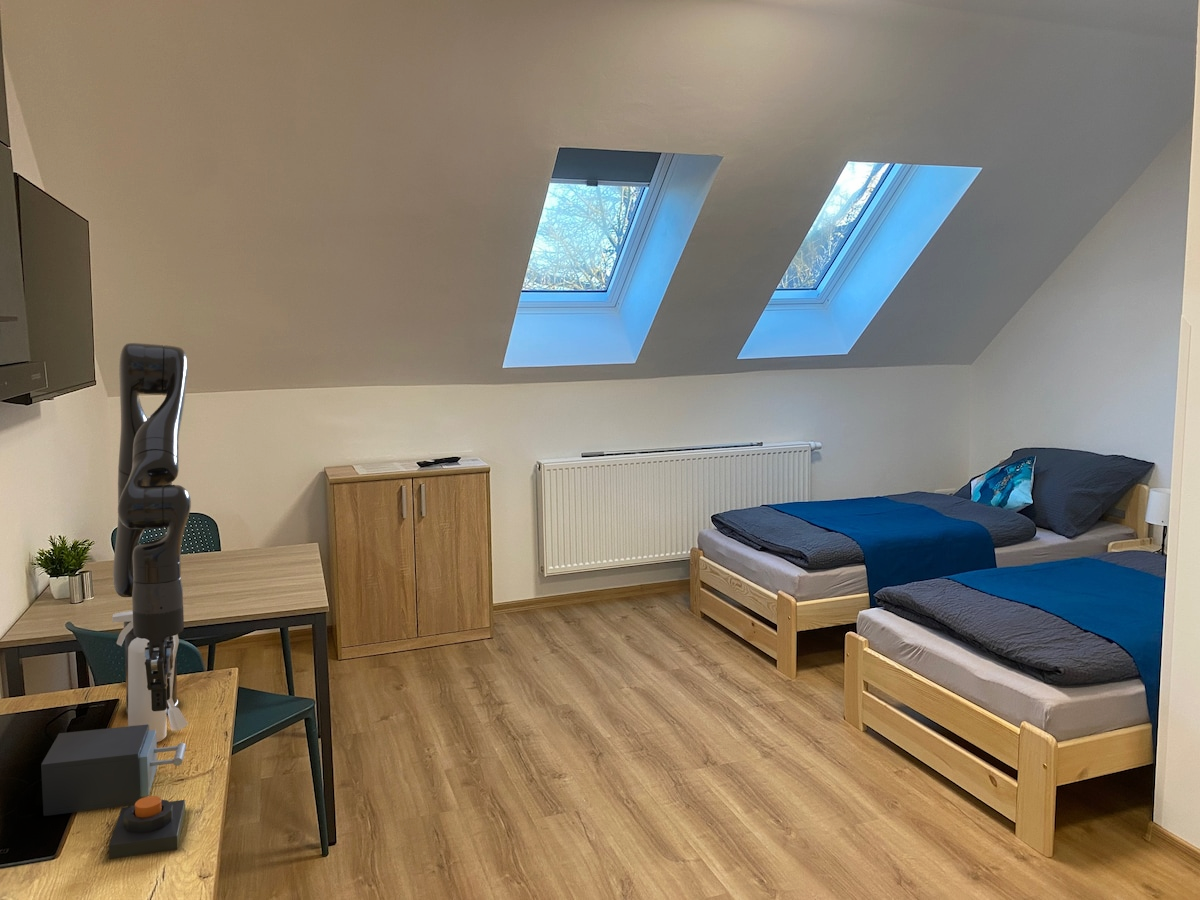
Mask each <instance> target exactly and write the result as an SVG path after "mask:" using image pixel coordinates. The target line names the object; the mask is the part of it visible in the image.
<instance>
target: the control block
mask: <svg viewBox="0 0 1200 900" xmlns="http://www.w3.org/2000/svg"><path fill="white" fill-rule="evenodd" d="M161 804H162V811H161V812H160V813H159V814H156V815H154V816H151V817H144V818H141V817H136V816H135V804H134V805H130V806H123V807H121V810H120V813H119V815H118V818H117V821H116V824H115V827H114V830H113V832H112V835H111V838H110V841H109V843H108V859H109V860H114V859H121V858H128V857H137V856H141V855H142V856H143V855H149V854H156V853H163V852H170V851H177V850H178V849H179V844H180V841H181V840H180V839H181V836H182V835H181V834H182V831H183V825H184V821H185V816H186V799H180V800H172V801H171V800H170V801H169V800H168V799H161Z"/></svg>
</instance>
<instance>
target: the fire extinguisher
mask: <svg viewBox="0 0 1200 900" xmlns="http://www.w3.org/2000/svg"><path fill="white" fill-rule="evenodd" d="M129 621H131V622H130V623H129V624H128V625H127V626H126V627H125V628H124V627H123V629H122V630H121V631H120V633H119V635H118V637H117V640H116V645H117V646H120V647H122V646H123V645H124V639H125V636H126V635H127V634H128V633H129V632H130V630H131V629H132V628H133V611H132V610H128V611H121V612H114V613H113V614H112V617H111V622H112V623H124V622H129ZM172 637H173V641H174V649H173V664H172V665H173V668H172V670H171V672H172V674H171V677H168V678H170V699H169V700H167V703H168V706H169V710H168V713H167V708H166V710H164V711H152V703H151V690H148V688H147V675H146V665H145V662H146V658H145V647H147V642H149V640H147V639H144V638H143V639H141V638H138V637H137V638H135V639H134V640H132V641H131V643H130V645H129V647H128V715H127V726H137V725H147V724H149V731H151V730H156V742H157V743H159V742H161V741H163V740H164V739H165V738H166V737H167V734H168V733H167V731H168V730H167V728H168V726H167V724H168V723H167V722H168V721H169V726H170V730H171V732H180V731H181V730H183V729H184V728H186V727H187V726H189V722H188V721H187V719H186V718H185V716H184V714H183V713H182V711H181V710H180V708H179V707H175V705H174V702H173V699H172V691H173V678H174V666H175V657H176V658H177V652H178V647H179V644H180V640H179V634H177V635H175V636H172ZM154 682H155V679H154ZM167 719H168V721H167Z"/></svg>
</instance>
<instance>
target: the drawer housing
mask: <svg viewBox="0 0 1200 900" xmlns="http://www.w3.org/2000/svg"><path fill="white" fill-rule="evenodd" d="M148 731H149V724H147V725H137V726H128V725H127V726H118V727H108V728H99V729H89V730H79V731H70V732H69V731H68V732H59V733H58V734H57V736H56V738H55V740H54V742H53V743H52V745H51V747H49V750H48V752H47V754H46V755H45V757H44V758H43V760H42V761H41V764H40V768H41V770H40V771H41V791H42V792H41V793H42V812H43V813H42V814H43V817H49V816H57V815H64V814H72V813H80V812H88V811H96V810H104V809H112V808H119V807H121V808H122V807H130V806H133V805H134V804H135V803H136V802H137V801H138V800H139V799H141V798H143V797H140V771H139V755H140V754H141V751H142V748H143V745H144V742H145V739H146V737H147V734H148Z"/></svg>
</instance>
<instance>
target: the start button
mask: <svg viewBox="0 0 1200 900" xmlns="http://www.w3.org/2000/svg"><path fill="white" fill-rule="evenodd" d="M161 800H162V798H161V797H160V796H157V795H149V796H145V797H142V798H141V799H139V800H138V801H137V802H136V803H135V816H136V817H141V818H144V817H151V816H154V815H156V814H159V813H160V812H161V811H162V804H161Z"/></svg>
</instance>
